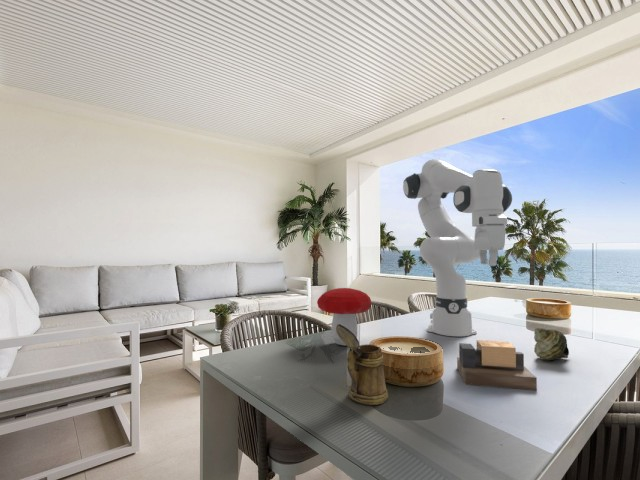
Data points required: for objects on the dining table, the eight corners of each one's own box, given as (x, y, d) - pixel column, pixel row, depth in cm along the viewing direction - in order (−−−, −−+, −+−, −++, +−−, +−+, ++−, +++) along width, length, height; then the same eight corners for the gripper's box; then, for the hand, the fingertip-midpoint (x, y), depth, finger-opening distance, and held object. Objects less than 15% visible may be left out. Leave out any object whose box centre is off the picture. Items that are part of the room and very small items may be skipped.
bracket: (457, 367, 96) (456, 339, 96) (518, 372, 93) (518, 343, 93) (465, 384, 85) (465, 352, 85) (536, 390, 81) (536, 356, 81)
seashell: (585, 368, 96) (584, 332, 96) (541, 365, 98) (540, 331, 99) (566, 356, 106) (565, 324, 107) (526, 354, 109) (525, 323, 109)
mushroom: (379, 341, 123) (379, 287, 124) (361, 356, 107) (361, 293, 107) (330, 335, 132) (330, 284, 133) (307, 347, 116) (307, 289, 116)
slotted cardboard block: (476, 358, 92) (476, 340, 92) (509, 360, 91) (509, 341, 91) (481, 365, 87) (481, 345, 87) (517, 367, 85) (516, 347, 85)
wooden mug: (325, 400, 76) (325, 320, 76) (368, 385, 84) (368, 313, 84) (352, 416, 69) (352, 327, 69) (396, 398, 77) (395, 319, 77)
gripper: (469, 223, 115) (469, 263, 115) (485, 217, 95) (485, 266, 95) (489, 222, 114) (489, 263, 114) (509, 217, 94) (510, 266, 94)
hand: (488, 265), depth 104 cm, fingers open, 8 cm apart
